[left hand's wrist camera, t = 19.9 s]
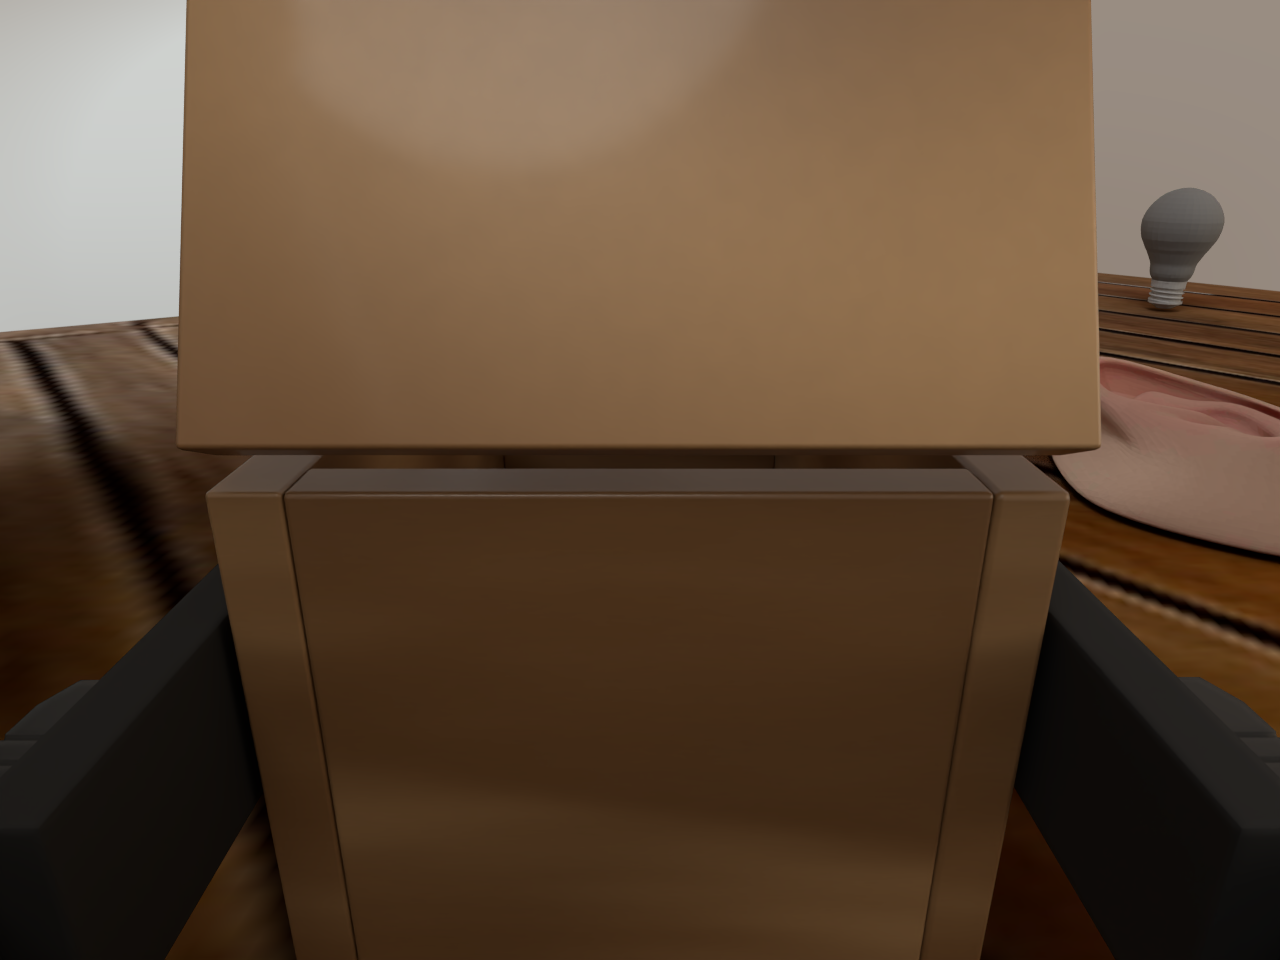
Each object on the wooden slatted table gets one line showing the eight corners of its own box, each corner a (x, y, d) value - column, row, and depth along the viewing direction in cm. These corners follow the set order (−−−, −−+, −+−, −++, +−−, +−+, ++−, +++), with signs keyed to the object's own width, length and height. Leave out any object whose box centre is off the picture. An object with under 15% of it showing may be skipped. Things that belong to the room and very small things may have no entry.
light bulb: (1141, 313, 73) (1167, 189, 69) (1114, 301, 78) (1137, 186, 75) (1216, 314, 72) (1247, 189, 69) (1183, 302, 78) (1210, 186, 74)
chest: (488, 585, 28) (467, 285, 24) (789, 585, 28) (811, 285, 24) (318, 1077, 13) (202, 493, 10) (959, 1077, 13) (1074, 494, 10)
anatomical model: (1490, 467, 26) (1071, 422, 30) (1446, 584, 27) (1051, 525, 32) (1353, 370, 37) (1062, 348, 42) (1326, 456, 39) (1048, 426, 43)
